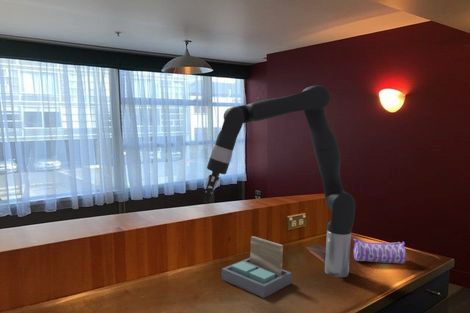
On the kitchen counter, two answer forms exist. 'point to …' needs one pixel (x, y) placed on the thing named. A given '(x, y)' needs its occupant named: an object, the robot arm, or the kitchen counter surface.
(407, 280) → the kitchen counter surface
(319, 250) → the wooden tablet
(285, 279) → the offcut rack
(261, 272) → the offcut
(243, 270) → the offcut
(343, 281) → the kitchen counter surface
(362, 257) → the pencil case
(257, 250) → the birch sheet
